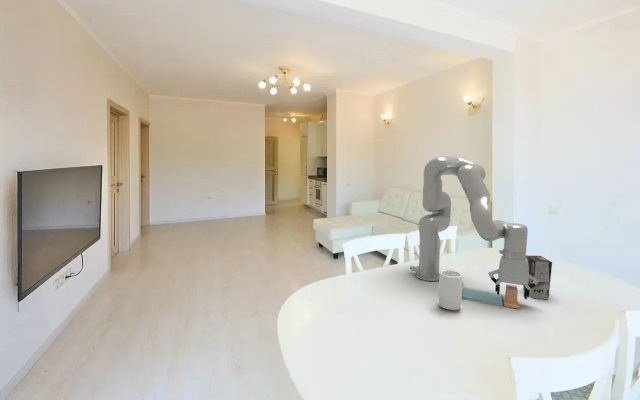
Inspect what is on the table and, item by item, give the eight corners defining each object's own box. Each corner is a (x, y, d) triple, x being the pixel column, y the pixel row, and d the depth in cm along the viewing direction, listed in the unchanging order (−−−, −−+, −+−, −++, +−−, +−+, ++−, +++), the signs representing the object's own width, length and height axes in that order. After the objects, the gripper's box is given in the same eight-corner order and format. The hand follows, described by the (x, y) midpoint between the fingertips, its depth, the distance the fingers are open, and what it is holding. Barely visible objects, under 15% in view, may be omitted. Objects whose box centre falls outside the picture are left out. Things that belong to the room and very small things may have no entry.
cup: (460, 304, 121) (461, 270, 119) (462, 314, 113) (464, 278, 111) (437, 301, 124) (438, 268, 122) (438, 311, 116) (439, 275, 114)
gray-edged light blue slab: (453, 298, 126) (454, 291, 126) (455, 287, 138) (456, 280, 137) (503, 308, 118) (504, 300, 118) (501, 295, 129) (502, 288, 129)
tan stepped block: (504, 306, 119) (505, 291, 118) (502, 296, 128) (503, 282, 127) (519, 308, 117) (520, 293, 116) (516, 298, 126) (517, 284, 125)
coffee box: (549, 299, 125) (553, 262, 123) (532, 298, 126) (535, 261, 124) (538, 290, 134) (541, 255, 132) (522, 289, 135) (525, 254, 133)
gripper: (489, 254, 120) (487, 295, 123) (542, 260, 112) (539, 304, 115) (489, 249, 127) (486, 288, 129) (539, 254, 119) (535, 296, 121)
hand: (511, 295), depth 122 cm, fingers open, 9 cm apart
